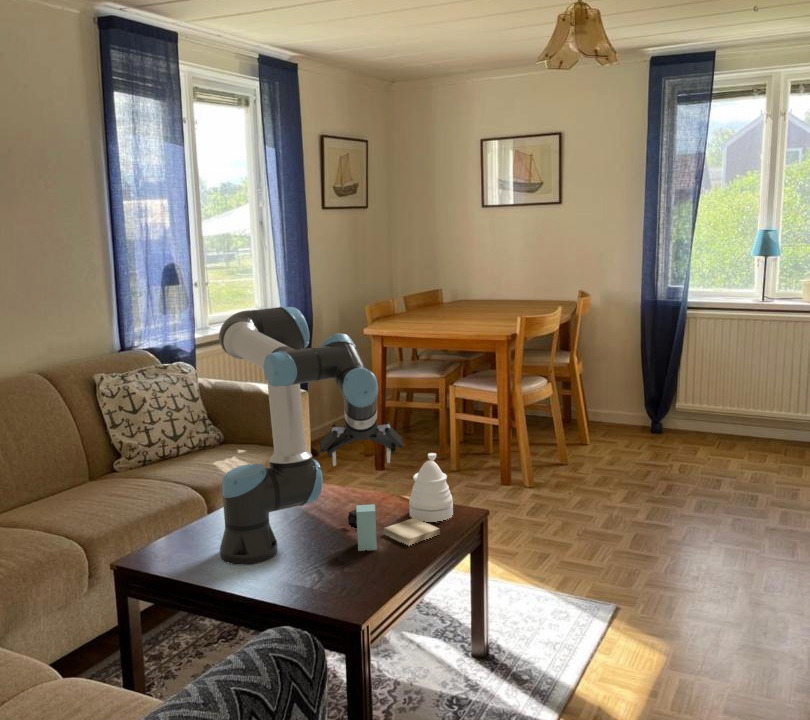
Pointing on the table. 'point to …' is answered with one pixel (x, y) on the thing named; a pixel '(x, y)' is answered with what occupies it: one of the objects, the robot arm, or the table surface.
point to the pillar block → (366, 527)
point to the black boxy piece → (352, 518)
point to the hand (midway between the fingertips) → (361, 459)
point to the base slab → (411, 531)
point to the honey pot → (430, 494)
